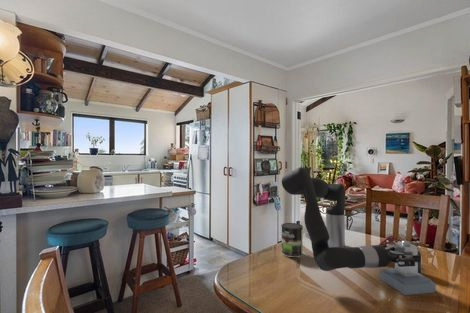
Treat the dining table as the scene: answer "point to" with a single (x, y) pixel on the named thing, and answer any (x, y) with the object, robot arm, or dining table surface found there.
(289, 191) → the robot arm
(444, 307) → the dining table surface
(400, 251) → the block
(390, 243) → the brake caliper
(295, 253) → the coffee can
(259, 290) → the dining table surface
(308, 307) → the dining table surface
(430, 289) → the stand
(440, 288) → the dining table surface
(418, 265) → the supplement bottle
